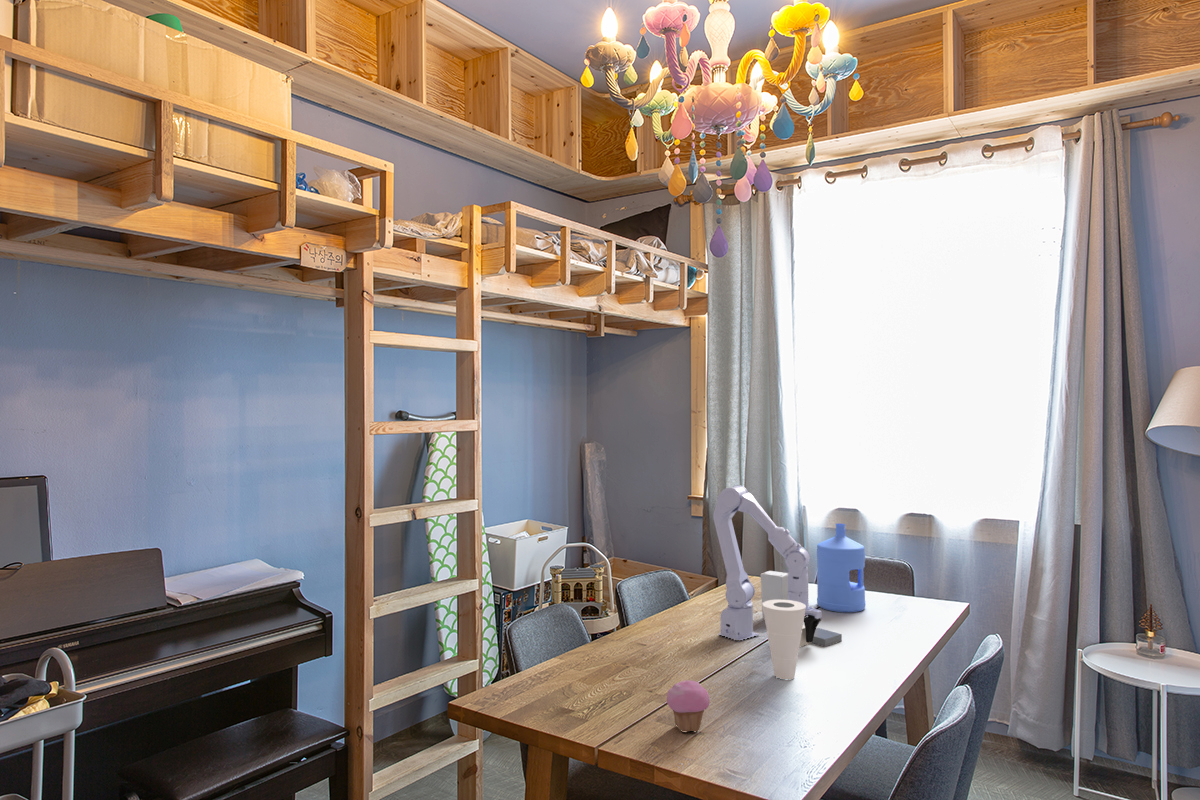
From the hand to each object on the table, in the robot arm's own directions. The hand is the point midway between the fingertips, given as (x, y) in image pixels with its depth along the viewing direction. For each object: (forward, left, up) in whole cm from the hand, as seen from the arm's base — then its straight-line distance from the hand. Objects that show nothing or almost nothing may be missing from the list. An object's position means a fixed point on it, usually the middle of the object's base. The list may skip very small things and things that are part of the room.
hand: (798, 638), depth 215 cm
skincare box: (+15, +20, -2) cm, 25 cm away
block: (0, 0, -2) cm, 2 cm away
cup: (-25, -14, -2) cm, 29 cm away
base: (+8, -2, -1) cm, 8 cm away
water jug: (+44, +16, -2) cm, 47 cm away
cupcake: (-66, -22, -2) cm, 69 cm away
